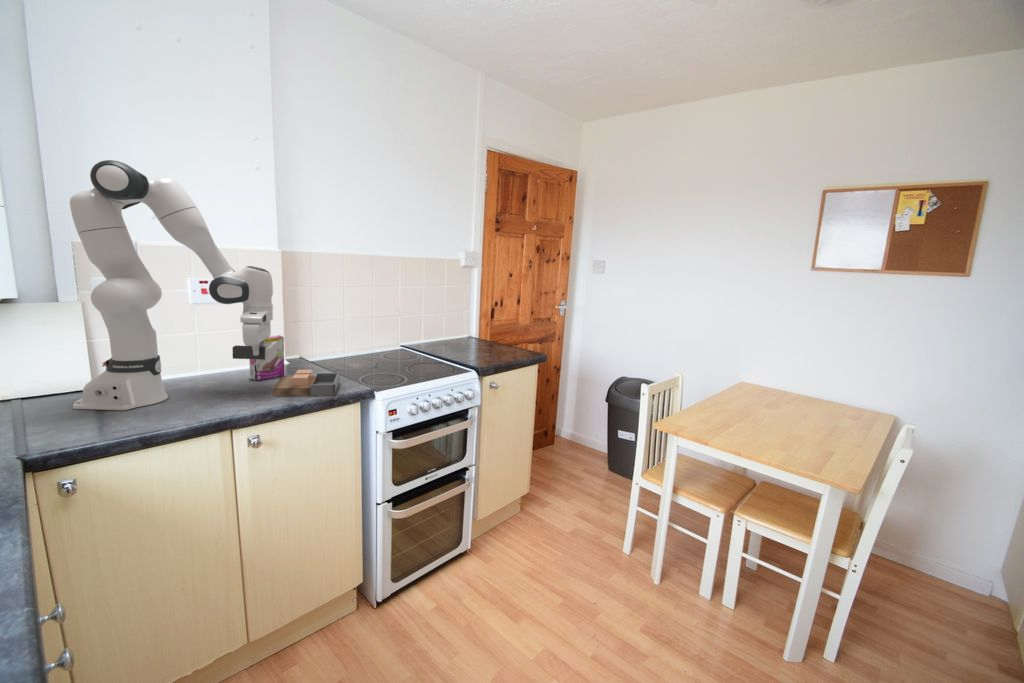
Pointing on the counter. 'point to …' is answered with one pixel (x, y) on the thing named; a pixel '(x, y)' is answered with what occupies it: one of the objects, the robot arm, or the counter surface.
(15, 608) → the counter surface
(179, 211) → the robot arm
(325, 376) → the tray
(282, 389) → the board
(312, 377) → the tile
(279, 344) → the candy bar box
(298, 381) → the tile
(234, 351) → the scraper
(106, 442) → the counter surface
